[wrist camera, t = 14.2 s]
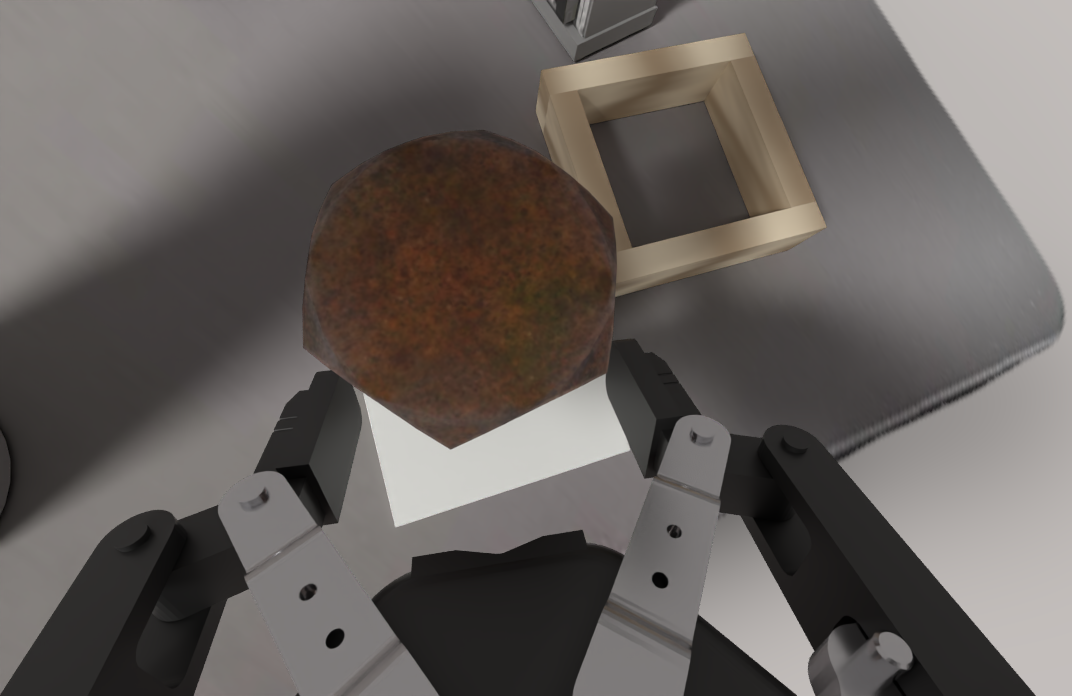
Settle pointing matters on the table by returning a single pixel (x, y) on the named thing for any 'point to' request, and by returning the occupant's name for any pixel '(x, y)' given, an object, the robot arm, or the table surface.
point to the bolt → (461, 283)
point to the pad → (493, 452)
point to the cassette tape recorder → (594, 21)
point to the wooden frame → (742, 127)
